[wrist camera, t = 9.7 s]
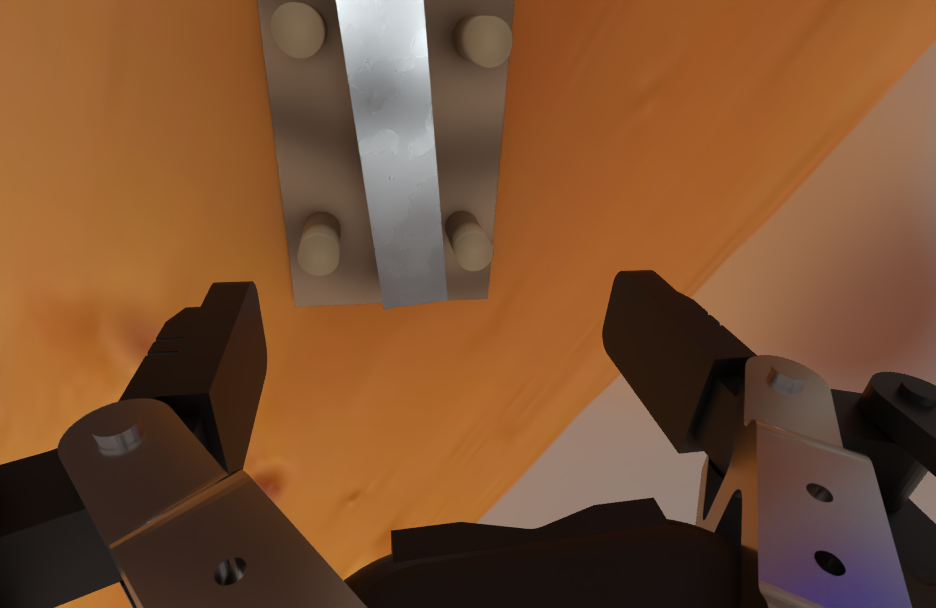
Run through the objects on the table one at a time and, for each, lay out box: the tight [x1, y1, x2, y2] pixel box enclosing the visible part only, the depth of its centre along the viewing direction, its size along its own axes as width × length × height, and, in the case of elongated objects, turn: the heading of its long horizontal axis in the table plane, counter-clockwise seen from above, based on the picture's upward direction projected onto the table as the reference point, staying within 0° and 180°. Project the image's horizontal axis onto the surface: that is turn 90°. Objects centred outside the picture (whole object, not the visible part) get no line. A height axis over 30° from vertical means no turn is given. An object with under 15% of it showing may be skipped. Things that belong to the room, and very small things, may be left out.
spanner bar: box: [336, 0, 448, 309], centre depth 25 cm, size 16×4×4 cm, turn 3°
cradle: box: [257, 0, 514, 307], centre depth 26 cm, size 20×12×5 cm, turn 177°
